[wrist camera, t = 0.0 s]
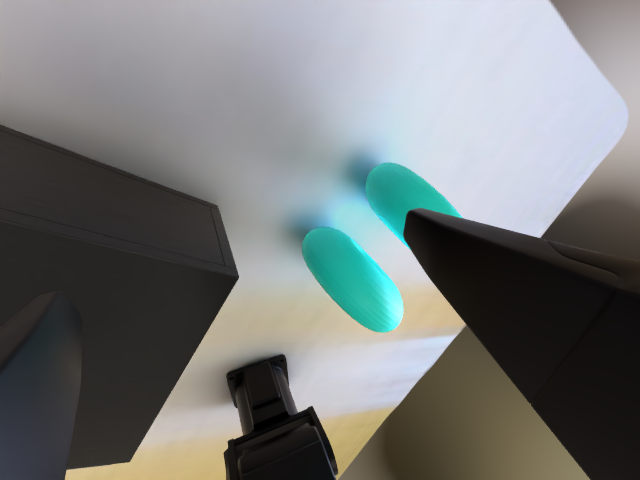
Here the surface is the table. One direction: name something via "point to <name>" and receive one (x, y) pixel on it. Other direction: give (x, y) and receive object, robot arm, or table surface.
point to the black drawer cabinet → (111, 280)
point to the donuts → (355, 264)
